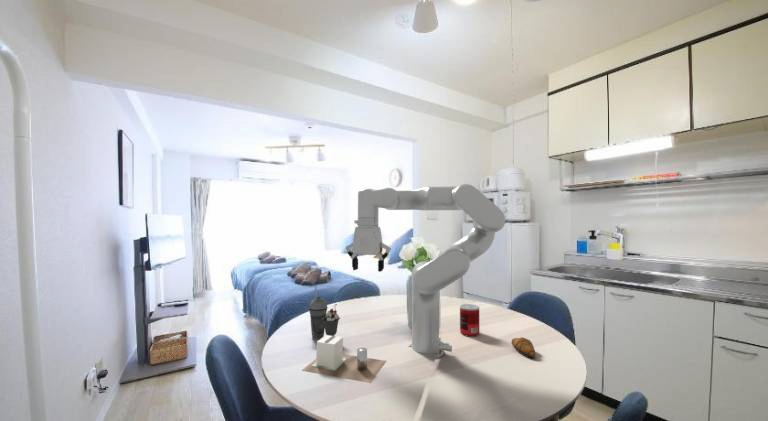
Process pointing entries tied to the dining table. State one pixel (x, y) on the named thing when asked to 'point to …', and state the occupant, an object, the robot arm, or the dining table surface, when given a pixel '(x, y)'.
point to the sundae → (331, 322)
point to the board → (349, 369)
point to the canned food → (469, 319)
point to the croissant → (524, 346)
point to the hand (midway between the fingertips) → (367, 270)
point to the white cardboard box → (329, 351)
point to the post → (361, 359)
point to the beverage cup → (317, 316)
